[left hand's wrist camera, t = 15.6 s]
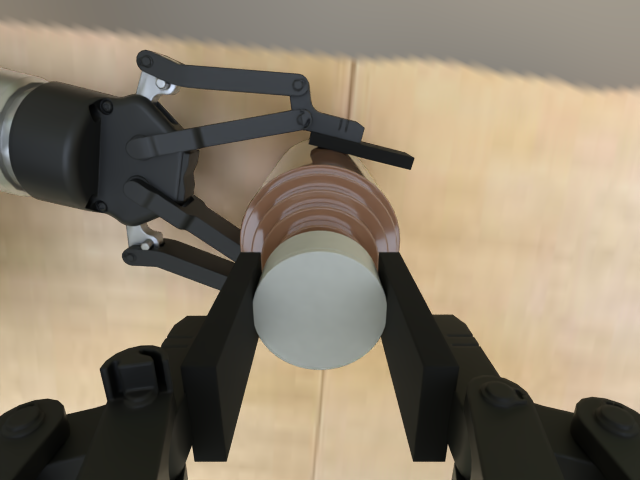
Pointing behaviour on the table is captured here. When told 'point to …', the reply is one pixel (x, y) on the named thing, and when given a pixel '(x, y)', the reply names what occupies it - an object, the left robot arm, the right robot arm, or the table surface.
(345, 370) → the table surface
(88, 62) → the table surface
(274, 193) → the bottle
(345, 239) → the cap
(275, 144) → the table surface
